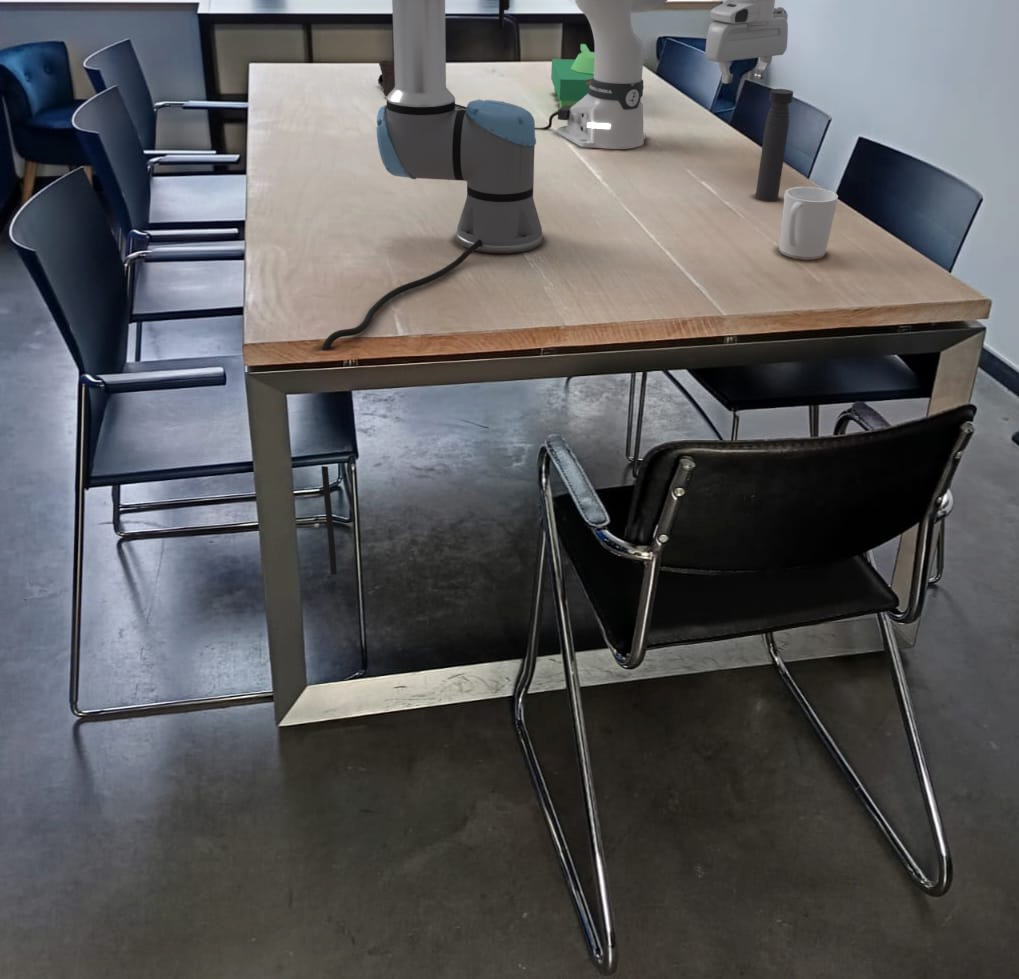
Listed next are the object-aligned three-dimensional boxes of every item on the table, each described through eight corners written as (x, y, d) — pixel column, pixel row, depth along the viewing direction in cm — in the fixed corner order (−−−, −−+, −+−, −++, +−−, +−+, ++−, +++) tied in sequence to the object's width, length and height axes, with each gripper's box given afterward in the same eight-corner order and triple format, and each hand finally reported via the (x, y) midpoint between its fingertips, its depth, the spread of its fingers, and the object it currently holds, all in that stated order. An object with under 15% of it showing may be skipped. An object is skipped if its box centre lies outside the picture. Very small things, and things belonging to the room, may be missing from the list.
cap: (766, 101, 211) (767, 91, 210) (772, 97, 214) (774, 87, 213) (788, 104, 209) (790, 94, 208) (794, 100, 212) (795, 90, 211)
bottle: (752, 199, 221) (767, 94, 210) (758, 193, 224) (773, 89, 213) (774, 202, 219) (790, 96, 208) (780, 196, 222) (796, 92, 212)
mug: (790, 240, 199) (799, 183, 193) (836, 251, 194) (846, 193, 188) (761, 255, 191) (769, 197, 186) (808, 267, 186) (818, 208, 181)
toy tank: (613, 40, 304) (631, 65, 274) (610, 86, 310) (627, 115, 281) (550, 39, 303) (561, 63, 273) (548, 85, 309) (558, 114, 280)
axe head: (443, 87, 294) (392, 77, 287) (436, 115, 299) (385, 106, 292) (421, 62, 307) (371, 52, 300) (414, 89, 311) (365, 80, 304)
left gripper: (534, -91, 215) (530, 25, 226) (409, -94, 217) (412, 20, 229) (530, -88, 209) (526, 31, 220) (401, -92, 211) (405, 26, 222)
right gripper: (777, 4, 230) (768, 73, 237) (704, 10, 220) (697, 82, 228) (799, 8, 226) (789, 78, 233) (725, 15, 216) (717, 88, 223)
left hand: (468, 26), depth 224 cm, fingers open, 13 cm apart
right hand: (743, 80), depth 230 cm, fingers open, 8 cm apart
